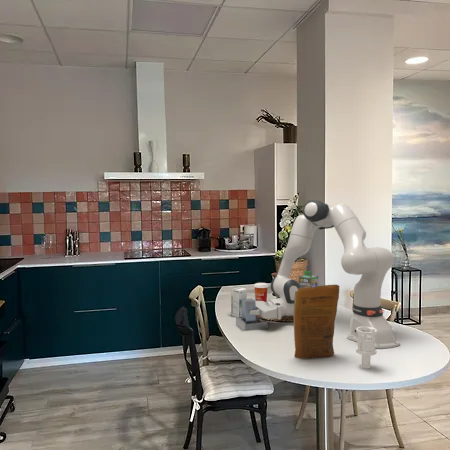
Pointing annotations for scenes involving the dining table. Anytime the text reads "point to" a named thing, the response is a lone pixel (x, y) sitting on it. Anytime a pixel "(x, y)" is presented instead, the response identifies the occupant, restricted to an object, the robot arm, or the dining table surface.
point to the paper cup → (261, 292)
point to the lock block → (246, 306)
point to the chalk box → (308, 280)
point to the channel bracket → (250, 324)
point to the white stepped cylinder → (366, 345)
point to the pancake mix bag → (315, 321)
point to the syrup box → (237, 301)
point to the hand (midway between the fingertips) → (246, 310)
